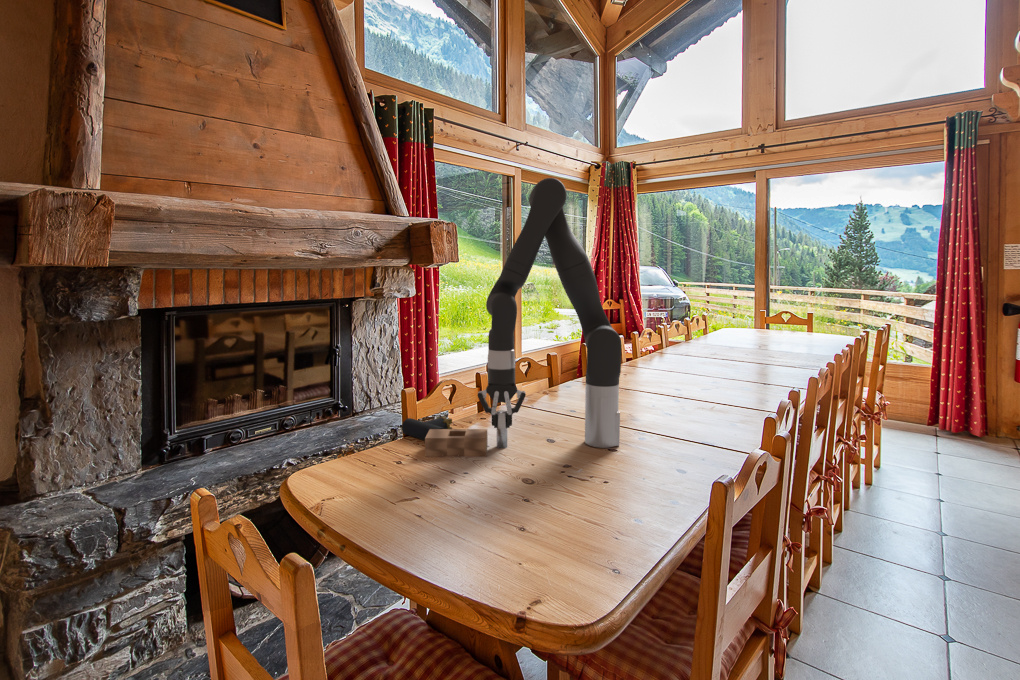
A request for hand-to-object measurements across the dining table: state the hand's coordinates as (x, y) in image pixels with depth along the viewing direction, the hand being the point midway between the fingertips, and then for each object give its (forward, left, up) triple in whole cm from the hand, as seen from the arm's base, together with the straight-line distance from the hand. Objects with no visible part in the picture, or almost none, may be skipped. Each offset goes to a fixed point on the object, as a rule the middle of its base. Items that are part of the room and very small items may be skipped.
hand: (501, 426), depth 148 cm
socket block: (+12, +4, -6) cm, 14 cm away
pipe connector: (+20, -10, -6) cm, 23 cm away
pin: (0, 0, -6) cm, 6 cm away
